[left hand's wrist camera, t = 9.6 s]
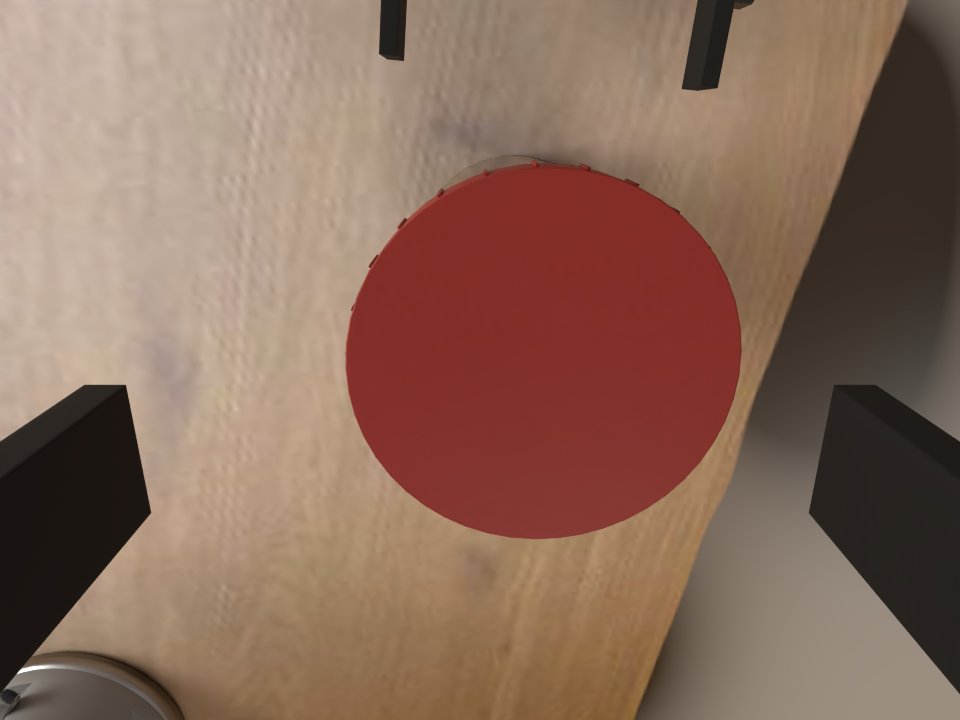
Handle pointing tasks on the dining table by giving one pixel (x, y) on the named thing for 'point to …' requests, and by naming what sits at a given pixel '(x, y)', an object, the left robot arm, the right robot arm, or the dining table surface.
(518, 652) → the dining table surface
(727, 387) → the lid
